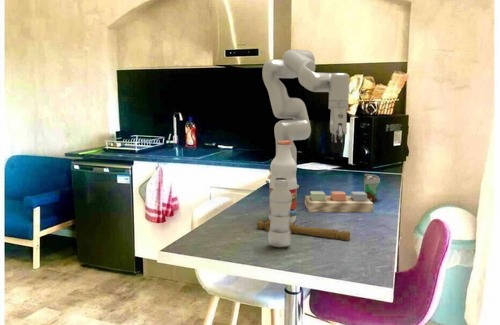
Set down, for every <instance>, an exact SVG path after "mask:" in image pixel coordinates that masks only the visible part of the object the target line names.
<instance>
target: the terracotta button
mask: <svg viewBox="0 0 500 325" xmlns="http://www.w3.org/2000/svg"><path fill="white" fill-rule="evenodd" d="M330 196H331V197H330V199H331V200H332V201H346V196H347V194H346V192H344V191H337V190H335V191H330Z"/></svg>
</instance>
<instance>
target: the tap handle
mask: <svg viewBox="0 0 500 325" xmlns="http://www.w3.org/2000/svg"><path fill="white" fill-rule="evenodd" d="M270 222H271V220H269V219H268V220H267V221H266V222H264V220H258V221H257V224H256V227H257V228H258V230H266V232H269V230H270ZM290 233H291V235H292V234H301V235H307V236H314V237H320V238H326V239H333V240H334V239H335V240H339V239H340V240H341V241H350V238H351V231H346V230H342V231H339V229H332V228H331V229H330V228H322V227H321V228H320V227H309V226H299V225H298V224H297V225H295V224H294V223H290Z"/></svg>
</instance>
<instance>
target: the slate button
mask: <svg viewBox="0 0 500 325" xmlns="http://www.w3.org/2000/svg"><path fill="white" fill-rule="evenodd" d="M350 196H351V200H352V201H367V194H366V193H365V192H364V191H350Z"/></svg>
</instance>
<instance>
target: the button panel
mask: <svg viewBox="0 0 500 325" xmlns="http://www.w3.org/2000/svg"><path fill="white" fill-rule="evenodd" d="M330 197H331V195H325V201H311V200H310V195H304V206H306V209H307V211H308V212H309V213H370V214H371V213H374V202H371V201H370V200H369V199H368V198H367V201H352V200H351V195H346V201H332V200H331V199H330Z"/></svg>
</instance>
